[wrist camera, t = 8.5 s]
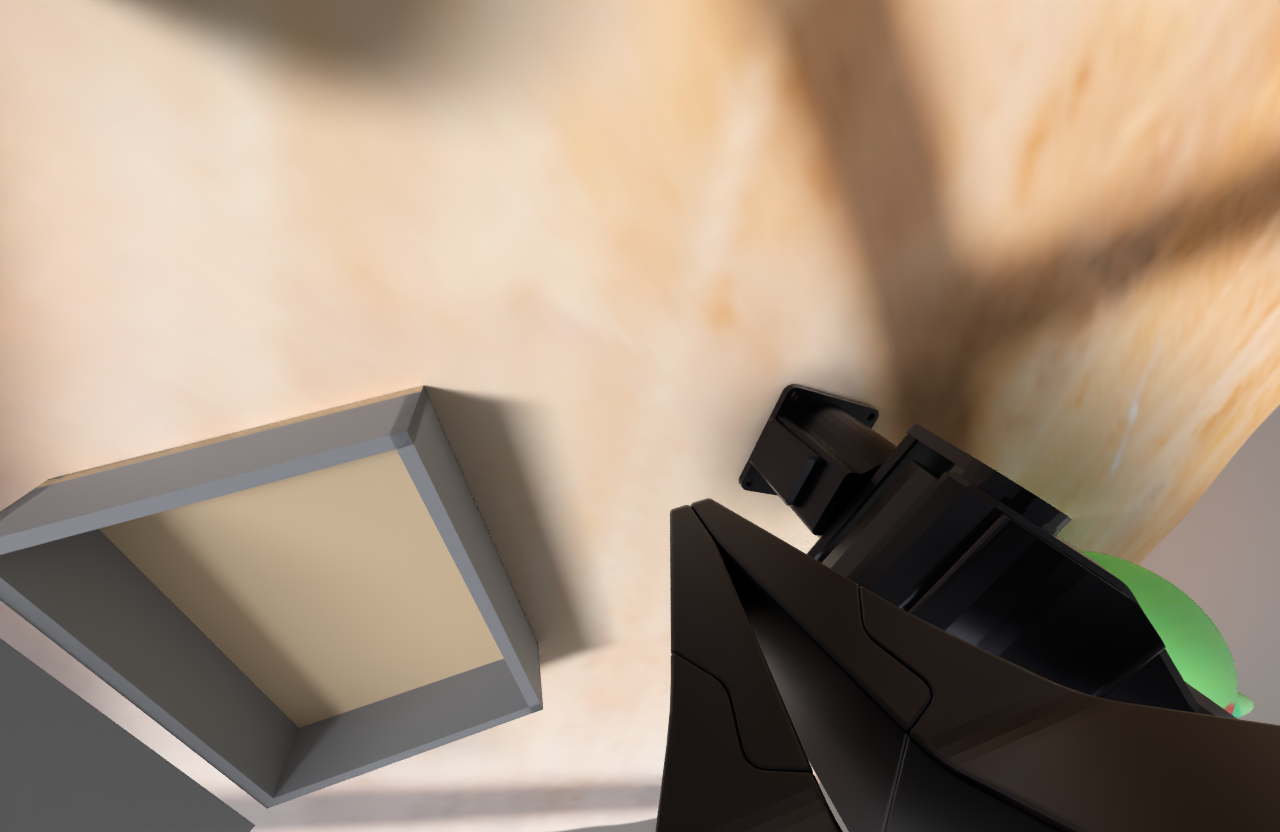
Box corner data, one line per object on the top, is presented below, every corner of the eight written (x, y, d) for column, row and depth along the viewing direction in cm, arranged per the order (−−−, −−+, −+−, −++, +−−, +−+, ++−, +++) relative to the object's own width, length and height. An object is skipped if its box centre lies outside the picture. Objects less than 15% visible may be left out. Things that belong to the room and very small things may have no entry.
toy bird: (1050, 473, 34) (1368, 649, 22) (1083, 573, 43) (1326, 741, 30) (854, 621, 37) (1039, 857, 24) (922, 688, 45) (1086, 889, 32)
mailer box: (423, 385, 20) (406, 430, 16) (538, 645, 29) (543, 709, 25) (48, 479, 18) (-61, 552, 14) (297, 726, 27) (267, 808, 23)
